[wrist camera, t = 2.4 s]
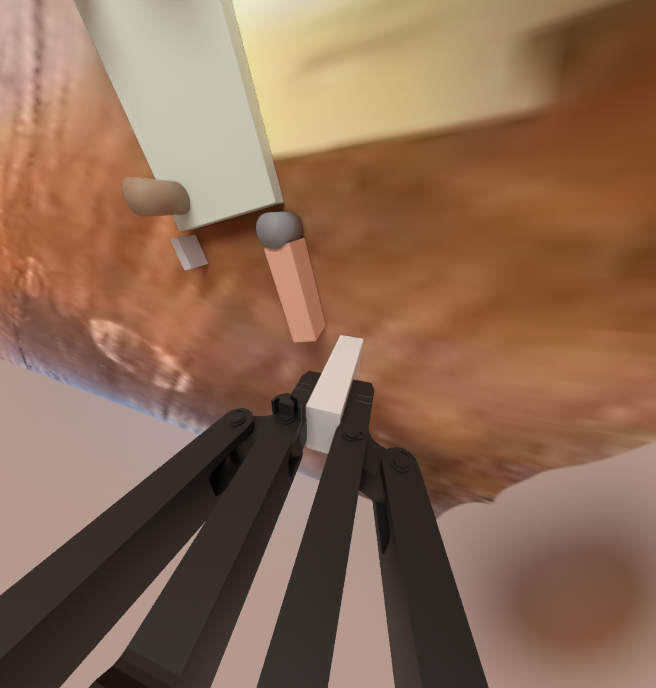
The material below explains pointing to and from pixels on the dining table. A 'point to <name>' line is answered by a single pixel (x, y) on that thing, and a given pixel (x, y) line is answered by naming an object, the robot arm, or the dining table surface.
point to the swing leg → (292, 273)
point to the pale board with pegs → (186, 111)
